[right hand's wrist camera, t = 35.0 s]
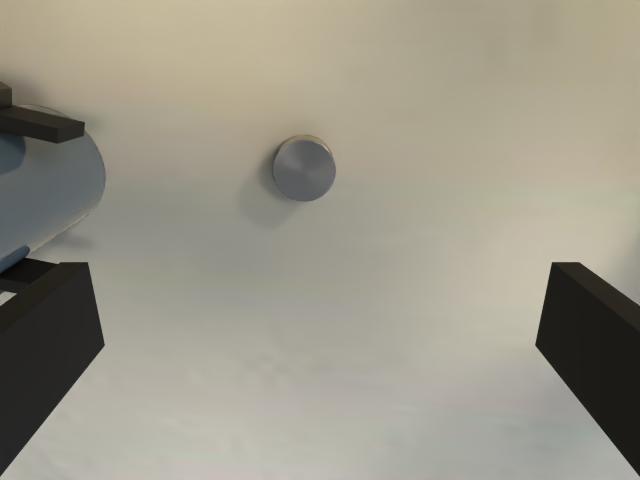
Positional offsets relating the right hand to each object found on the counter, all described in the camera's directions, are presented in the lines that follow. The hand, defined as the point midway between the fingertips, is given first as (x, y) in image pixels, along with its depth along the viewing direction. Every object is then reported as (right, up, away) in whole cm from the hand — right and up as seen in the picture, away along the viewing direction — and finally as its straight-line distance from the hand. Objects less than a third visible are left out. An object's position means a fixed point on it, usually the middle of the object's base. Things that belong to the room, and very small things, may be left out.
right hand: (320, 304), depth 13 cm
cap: (-1, +6, +16) cm, 17 cm away
